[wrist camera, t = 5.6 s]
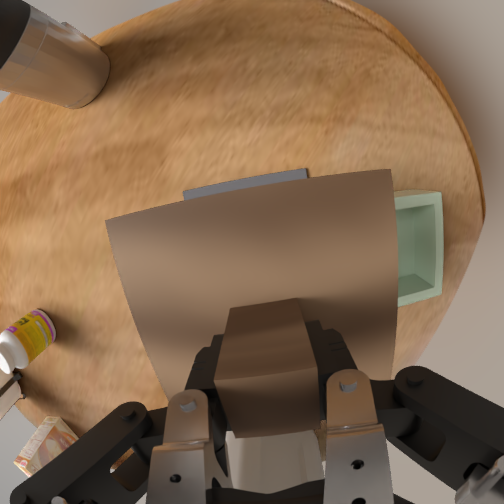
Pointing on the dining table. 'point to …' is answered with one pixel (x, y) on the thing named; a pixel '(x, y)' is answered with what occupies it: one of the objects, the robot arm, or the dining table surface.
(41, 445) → the coffeecake box
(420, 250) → the green box
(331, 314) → the lid
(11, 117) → the dining table surface
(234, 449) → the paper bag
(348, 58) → the dining table surface
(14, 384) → the coffee press
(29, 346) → the supplement bottle
